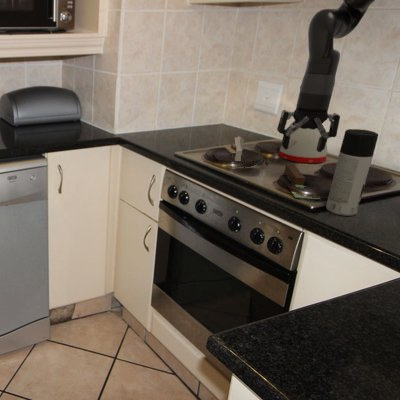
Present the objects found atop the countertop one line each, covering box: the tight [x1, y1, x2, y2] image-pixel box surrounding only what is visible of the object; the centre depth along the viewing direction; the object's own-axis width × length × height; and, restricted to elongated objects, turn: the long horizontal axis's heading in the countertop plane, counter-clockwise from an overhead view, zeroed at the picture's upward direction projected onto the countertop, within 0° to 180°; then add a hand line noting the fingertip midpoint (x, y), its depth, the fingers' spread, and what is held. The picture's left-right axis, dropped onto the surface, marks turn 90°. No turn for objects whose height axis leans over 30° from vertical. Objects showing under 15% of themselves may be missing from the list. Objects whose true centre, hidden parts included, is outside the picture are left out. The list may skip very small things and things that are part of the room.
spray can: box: [325, 128, 379, 217], centre depth 114 cm, size 7×7×20 cm
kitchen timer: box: [278, 128, 328, 164], centre depth 156 cm, size 14×14×15 cm
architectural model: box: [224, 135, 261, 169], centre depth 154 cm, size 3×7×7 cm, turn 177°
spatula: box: [283, 163, 321, 200], centre depth 133 cm, size 21×6×3 cm, turn 167°
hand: (302, 149), depth 132 cm, fingers open, 8 cm apart
